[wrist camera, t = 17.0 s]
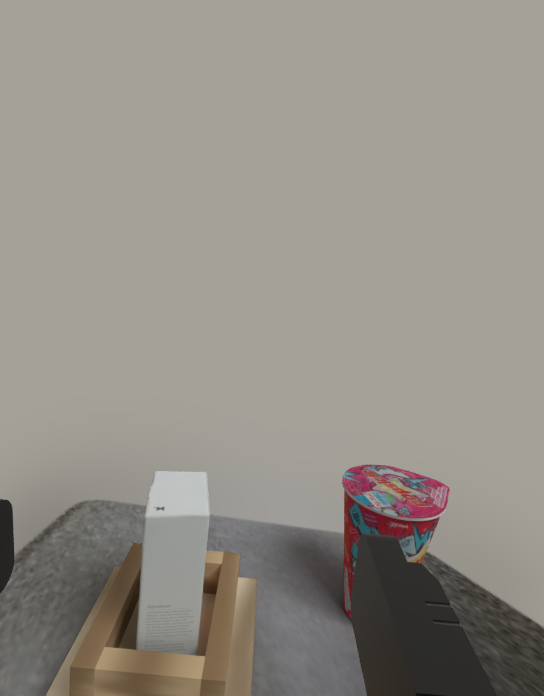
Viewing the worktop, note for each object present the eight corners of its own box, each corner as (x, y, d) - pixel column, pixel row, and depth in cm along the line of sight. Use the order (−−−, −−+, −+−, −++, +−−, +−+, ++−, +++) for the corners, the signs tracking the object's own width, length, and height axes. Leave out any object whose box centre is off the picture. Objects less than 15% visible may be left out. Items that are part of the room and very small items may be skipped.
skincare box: (197, 671, 29) (210, 516, 26) (133, 676, 28) (141, 517, 26) (197, 601, 34) (208, 470, 32) (144, 604, 34) (152, 469, 31)
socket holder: (256, 588, 38) (260, 549, 37) (247, 750, 25) (253, 696, 24) (115, 574, 38) (116, 535, 37) (34, 730, 25) (33, 676, 24)
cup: (389, 673, 31) (417, 531, 29) (305, 602, 37) (322, 480, 35) (441, 611, 38) (467, 491, 35) (363, 559, 44) (380, 453, 41)
